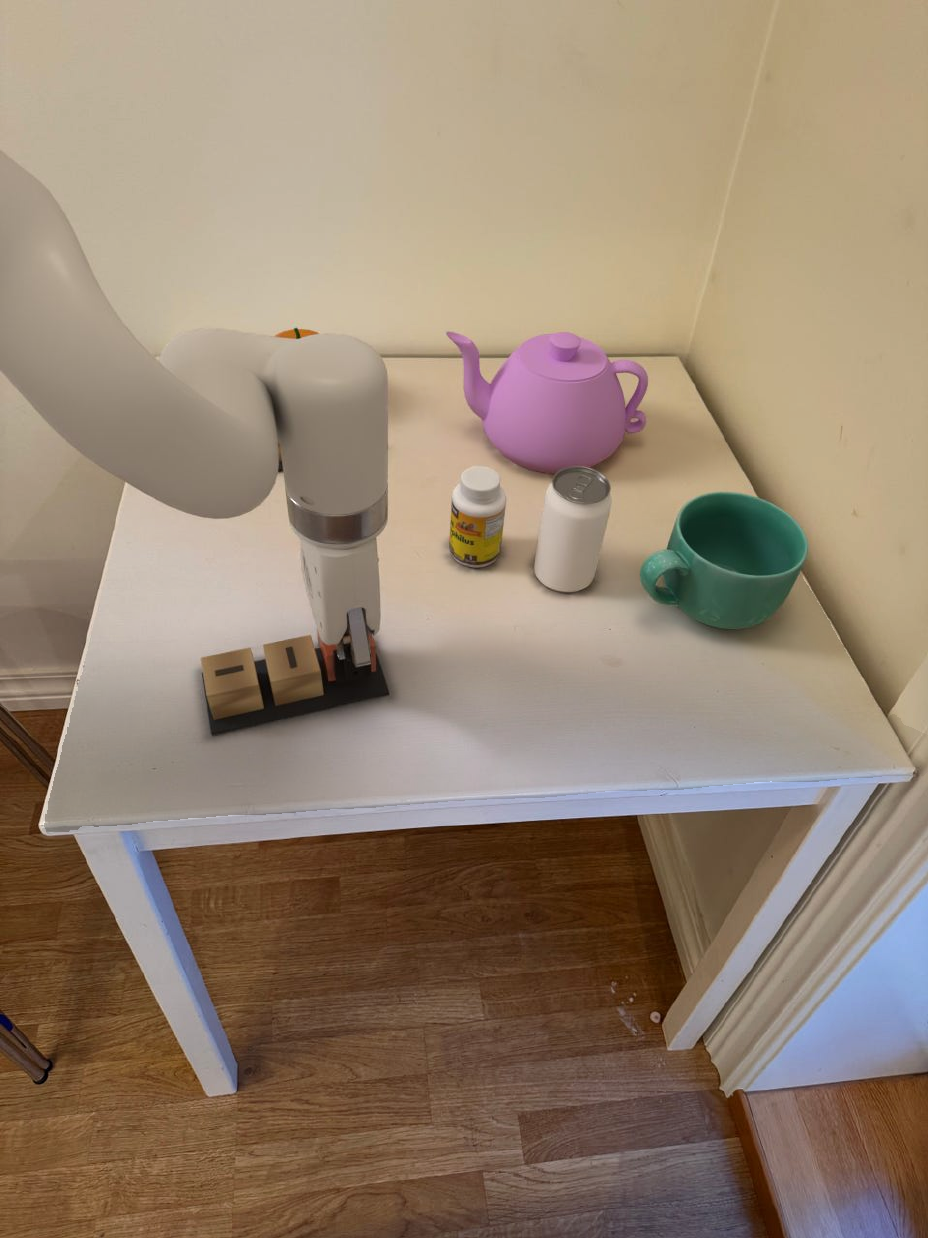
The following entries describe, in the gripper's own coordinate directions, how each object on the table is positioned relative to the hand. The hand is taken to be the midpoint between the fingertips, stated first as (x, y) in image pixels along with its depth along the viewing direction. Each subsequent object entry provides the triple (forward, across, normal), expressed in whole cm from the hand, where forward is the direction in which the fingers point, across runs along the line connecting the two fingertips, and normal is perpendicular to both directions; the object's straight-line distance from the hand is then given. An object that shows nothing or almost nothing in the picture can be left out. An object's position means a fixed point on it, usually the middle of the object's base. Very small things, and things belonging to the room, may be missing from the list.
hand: (346, 654), depth 76 cm
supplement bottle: (+3, -12, +17) cm, 21 cm away
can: (+2, -7, +25) cm, 26 cm away
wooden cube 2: (+2, 0, -5) cm, 5 cm away
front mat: (+3, 0, -5) cm, 6 cm away
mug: (+2, +1, +37) cm, 37 cm away
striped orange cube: (+1, 0, 0) cm, 1 cm away
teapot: (+2, -30, +32) cm, 44 cm away
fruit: (+3, -45, +5) cm, 45 cm away
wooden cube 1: (+2, 0, -10) cm, 11 cm away
